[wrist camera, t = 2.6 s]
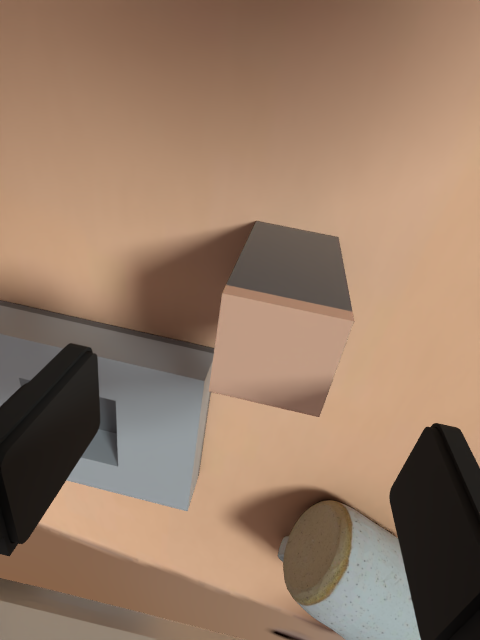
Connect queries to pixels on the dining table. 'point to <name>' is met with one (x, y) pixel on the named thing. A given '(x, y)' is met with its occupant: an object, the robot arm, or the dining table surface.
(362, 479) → the dining table surface
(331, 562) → the ceramic mug
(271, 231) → the charger
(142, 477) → the outlet box
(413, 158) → the dining table surface
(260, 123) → the dining table surface
